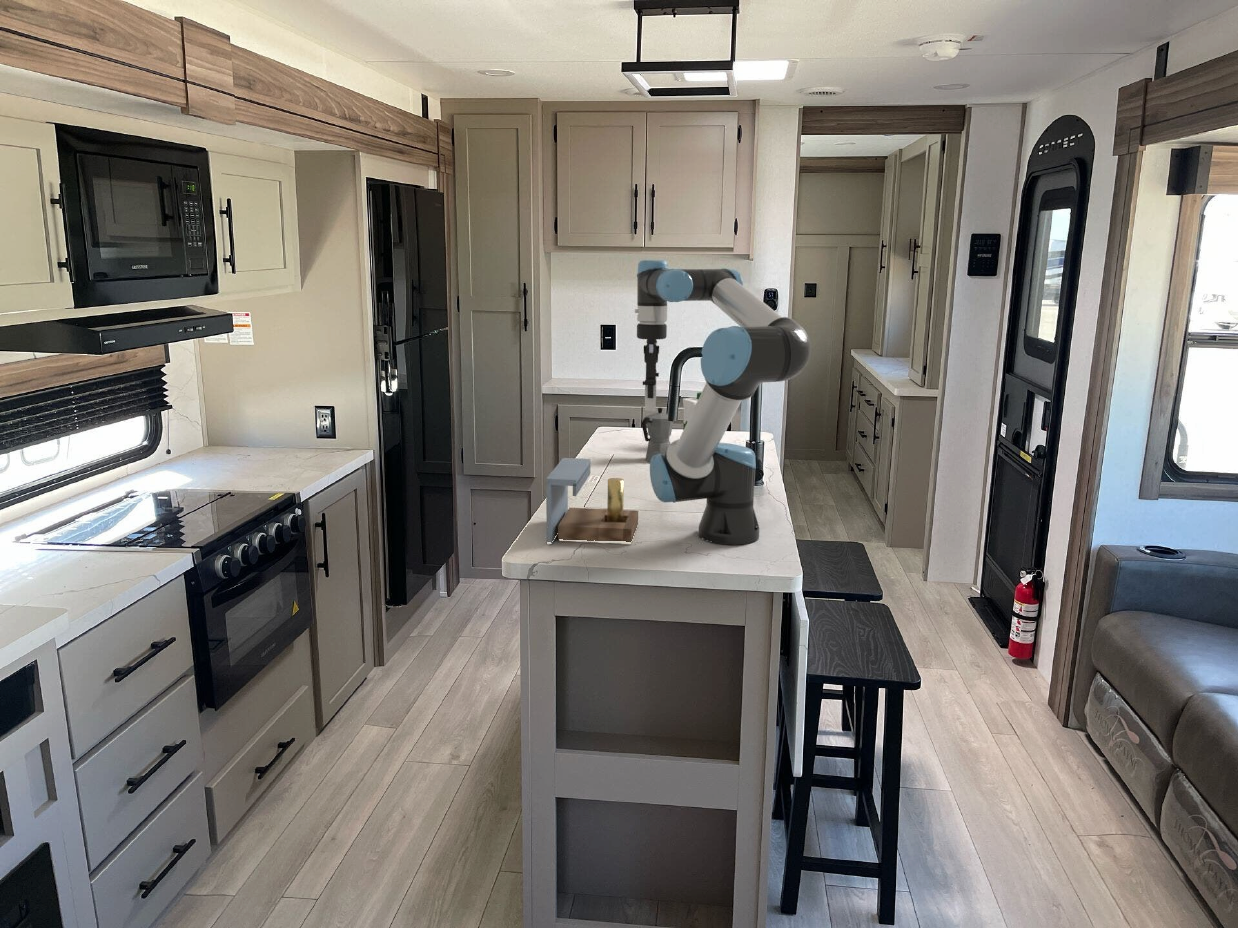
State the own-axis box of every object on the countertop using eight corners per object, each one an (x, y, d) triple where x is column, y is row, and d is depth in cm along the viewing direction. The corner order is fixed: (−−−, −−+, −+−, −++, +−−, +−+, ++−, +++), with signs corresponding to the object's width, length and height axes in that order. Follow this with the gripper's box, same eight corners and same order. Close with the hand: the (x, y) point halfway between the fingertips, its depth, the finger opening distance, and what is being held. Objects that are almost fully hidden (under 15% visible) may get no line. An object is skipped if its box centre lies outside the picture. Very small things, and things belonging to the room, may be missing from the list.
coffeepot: (661, 454, 316) (662, 403, 312) (682, 459, 310) (683, 407, 306) (631, 462, 305) (631, 409, 301) (652, 466, 299) (653, 412, 295)
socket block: (638, 525, 237) (638, 510, 236) (631, 544, 221) (631, 529, 220) (569, 522, 239) (569, 507, 238) (558, 541, 223) (557, 525, 222)
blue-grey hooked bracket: (590, 519, 241) (590, 458, 237) (576, 546, 220) (575, 479, 216) (563, 518, 242) (563, 457, 238) (546, 544, 221) (546, 478, 217)
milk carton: (712, 450, 324) (714, 394, 319) (690, 452, 320) (692, 396, 316) (700, 445, 332) (702, 391, 327) (678, 447, 328) (680, 392, 323)
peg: (610, 536, 227) (611, 482, 224) (604, 532, 231) (605, 478, 227) (625, 535, 229) (626, 481, 225) (618, 530, 232) (619, 477, 229)
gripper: (638, 319, 242) (637, 398, 247) (635, 326, 218) (634, 414, 223) (666, 319, 242) (665, 398, 246) (666, 327, 217) (665, 415, 222)
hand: (650, 406), depth 235 cm, fingers open, 13 cm apart
